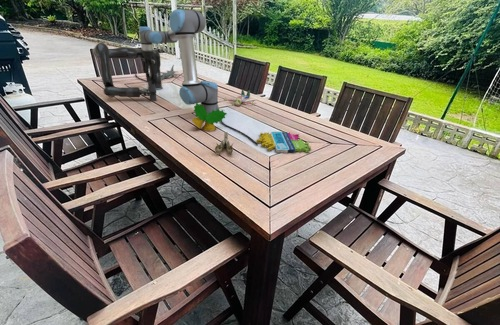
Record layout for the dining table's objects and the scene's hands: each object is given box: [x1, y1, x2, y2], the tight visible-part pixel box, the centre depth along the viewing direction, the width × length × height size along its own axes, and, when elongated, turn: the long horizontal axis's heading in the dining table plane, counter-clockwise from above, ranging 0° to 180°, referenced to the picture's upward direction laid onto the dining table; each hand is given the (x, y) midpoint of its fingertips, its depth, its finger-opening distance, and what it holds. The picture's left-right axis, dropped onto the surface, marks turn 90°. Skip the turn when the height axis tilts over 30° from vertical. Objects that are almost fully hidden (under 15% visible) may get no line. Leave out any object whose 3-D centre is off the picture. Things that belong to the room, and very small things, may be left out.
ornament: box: [191, 102, 228, 132], centre depth 162 cm, size 21×8×15 cm, turn 105°
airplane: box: [160, 64, 183, 81], centre depth 280 cm, size 38×31×10 cm
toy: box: [223, 89, 257, 106], centre depth 219 cm, size 28×7×30 cm
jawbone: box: [214, 131, 234, 156], centre depth 136 cm, size 9×15×10 cm
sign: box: [255, 131, 312, 154], centre depth 152 cm, size 26×2×30 cm
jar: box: [147, 80, 158, 102], centre depth 204 cm, size 5×5×18 cm
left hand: (155, 92), depth 206 cm, fingers closed on jar, 5 cm apart
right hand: (151, 82), depth 202 cm, fingers closed on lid, 6 cm apart
